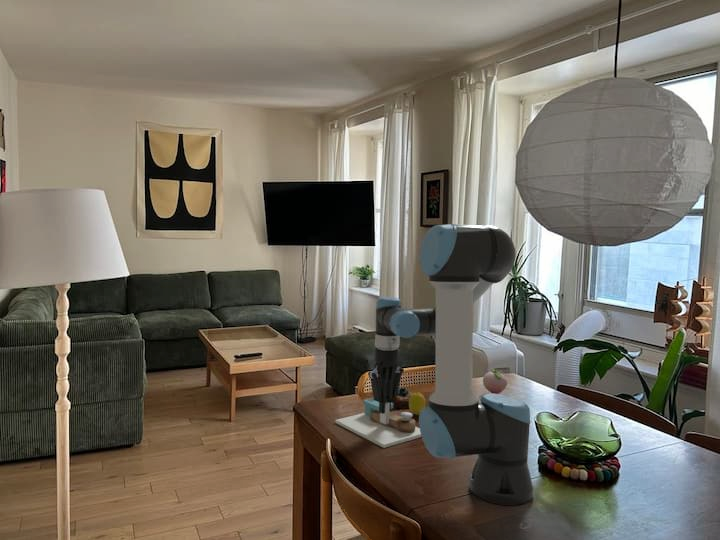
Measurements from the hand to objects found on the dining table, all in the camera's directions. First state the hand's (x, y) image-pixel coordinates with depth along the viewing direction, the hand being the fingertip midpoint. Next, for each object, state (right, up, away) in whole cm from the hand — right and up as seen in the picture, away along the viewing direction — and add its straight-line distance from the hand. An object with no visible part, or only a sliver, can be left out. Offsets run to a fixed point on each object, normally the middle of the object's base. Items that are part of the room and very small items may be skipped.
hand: (384, 422), depth 179 cm
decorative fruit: (+43, 0, +39) cm, 58 cm away
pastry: (+6, -1, +26) cm, 27 cm away
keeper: (-2, -1, +9) cm, 9 cm away
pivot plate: (-1, -2, +1) cm, 3 cm away
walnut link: (+3, -1, +1) cm, 3 cm away
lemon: (+11, -2, +15) cm, 19 cm away
